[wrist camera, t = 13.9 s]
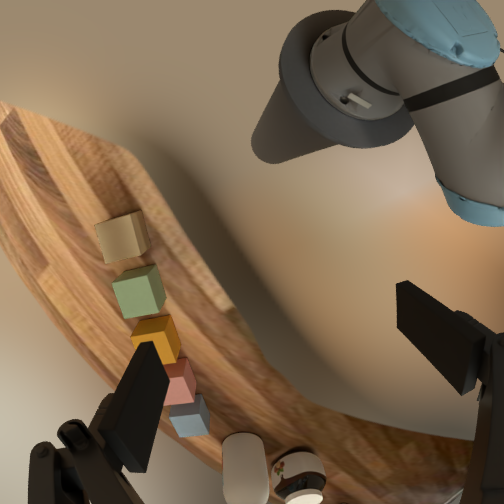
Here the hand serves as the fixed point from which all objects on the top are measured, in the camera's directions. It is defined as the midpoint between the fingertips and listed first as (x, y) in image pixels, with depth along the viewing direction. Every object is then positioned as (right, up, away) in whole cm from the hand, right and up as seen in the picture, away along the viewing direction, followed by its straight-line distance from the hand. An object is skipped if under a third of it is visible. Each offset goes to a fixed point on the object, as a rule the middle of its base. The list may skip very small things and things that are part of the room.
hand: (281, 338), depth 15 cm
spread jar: (+8, -40, +37) cm, 55 cm away
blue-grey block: (-12, -21, +31) cm, 39 cm away
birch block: (-18, +7, +24) cm, 30 cm away
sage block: (-16, 0, +25) cm, 30 cm away
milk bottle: (-3, -32, +34) cm, 46 cm away
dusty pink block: (-13, -14, +29) cm, 35 cm away
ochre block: (-15, -7, +27) cm, 32 cm away
